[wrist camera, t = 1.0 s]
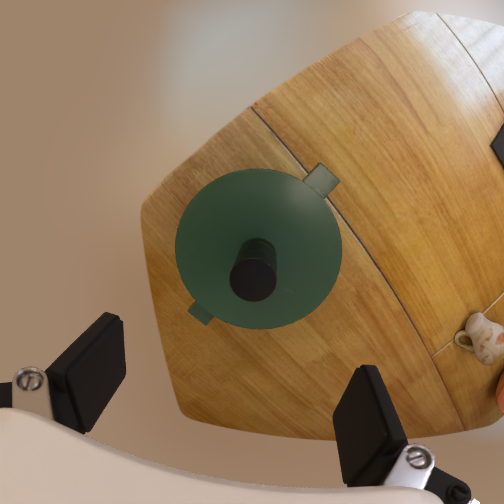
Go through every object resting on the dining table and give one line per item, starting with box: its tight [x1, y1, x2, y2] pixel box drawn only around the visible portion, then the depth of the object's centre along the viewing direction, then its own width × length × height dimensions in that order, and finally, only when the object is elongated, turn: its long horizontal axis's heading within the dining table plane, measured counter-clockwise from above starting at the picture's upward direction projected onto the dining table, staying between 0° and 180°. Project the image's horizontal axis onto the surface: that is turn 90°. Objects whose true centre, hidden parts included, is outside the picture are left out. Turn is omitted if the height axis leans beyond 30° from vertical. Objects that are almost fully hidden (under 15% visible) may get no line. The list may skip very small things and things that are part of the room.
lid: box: [175, 169, 342, 329], centre depth 23 cm, size 15×15×7 cm
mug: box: [455, 313, 504, 366], centre depth 33 cm, size 8×10×10 cm
